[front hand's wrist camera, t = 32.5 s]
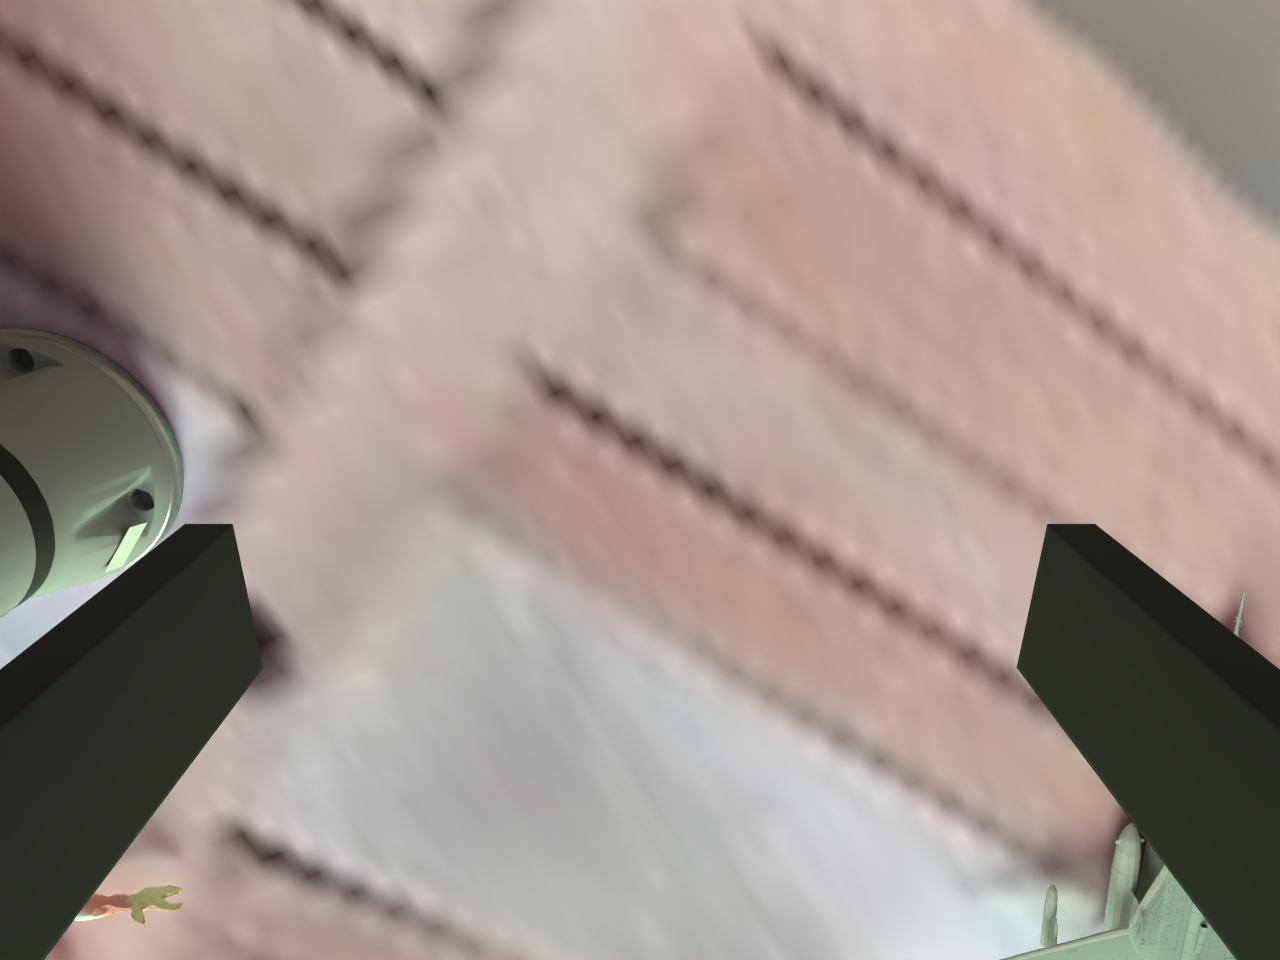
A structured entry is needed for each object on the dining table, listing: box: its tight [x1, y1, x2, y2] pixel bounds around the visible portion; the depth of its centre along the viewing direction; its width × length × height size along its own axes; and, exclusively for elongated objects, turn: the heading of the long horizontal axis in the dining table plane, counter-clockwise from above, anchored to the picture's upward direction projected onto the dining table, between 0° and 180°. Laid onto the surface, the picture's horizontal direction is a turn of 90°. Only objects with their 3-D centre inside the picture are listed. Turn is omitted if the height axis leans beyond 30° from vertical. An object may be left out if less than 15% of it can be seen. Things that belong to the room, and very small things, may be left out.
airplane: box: [1001, 592, 1246, 960], centre depth 55 cm, size 38×32×10 cm
